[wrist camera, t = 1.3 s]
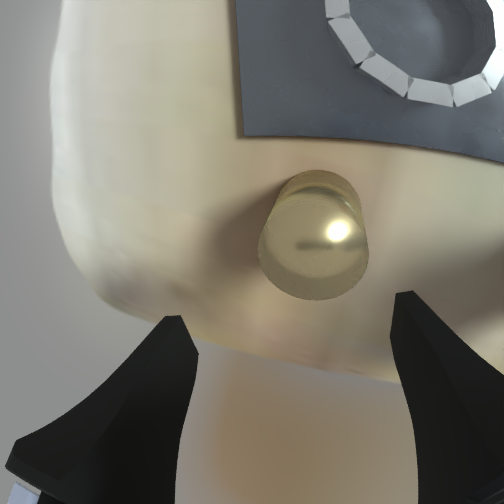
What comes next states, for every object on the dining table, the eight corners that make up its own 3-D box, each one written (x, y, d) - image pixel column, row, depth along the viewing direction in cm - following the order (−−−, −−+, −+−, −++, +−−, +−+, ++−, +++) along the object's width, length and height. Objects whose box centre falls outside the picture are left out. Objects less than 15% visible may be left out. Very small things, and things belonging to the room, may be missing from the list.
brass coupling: (364, 173, 16) (375, 208, 12) (356, 251, 18) (359, 304, 14) (275, 168, 17) (254, 200, 13) (277, 244, 19) (259, 294, 15)
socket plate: (525, -32, 5) (549, -41, 2) (532, 168, 12) (559, 186, 9) (233, -79, 9) (214, -101, 6) (246, 133, 16) (229, 145, 14)
